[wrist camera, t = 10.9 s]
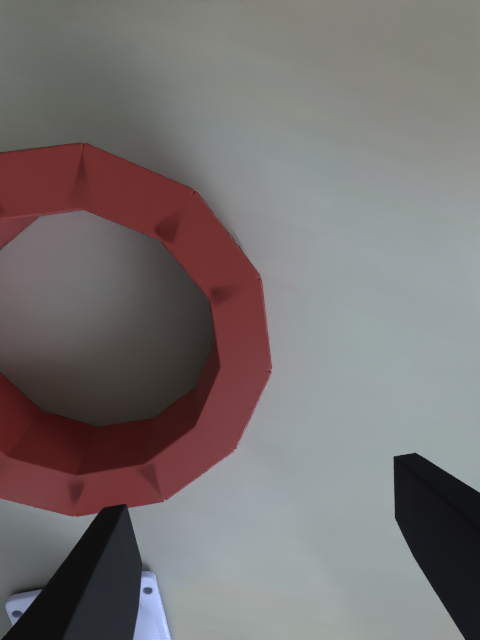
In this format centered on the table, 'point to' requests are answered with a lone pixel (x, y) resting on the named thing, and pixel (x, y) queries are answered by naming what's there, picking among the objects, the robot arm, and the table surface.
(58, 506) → the ring
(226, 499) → the table surface
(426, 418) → the table surface
